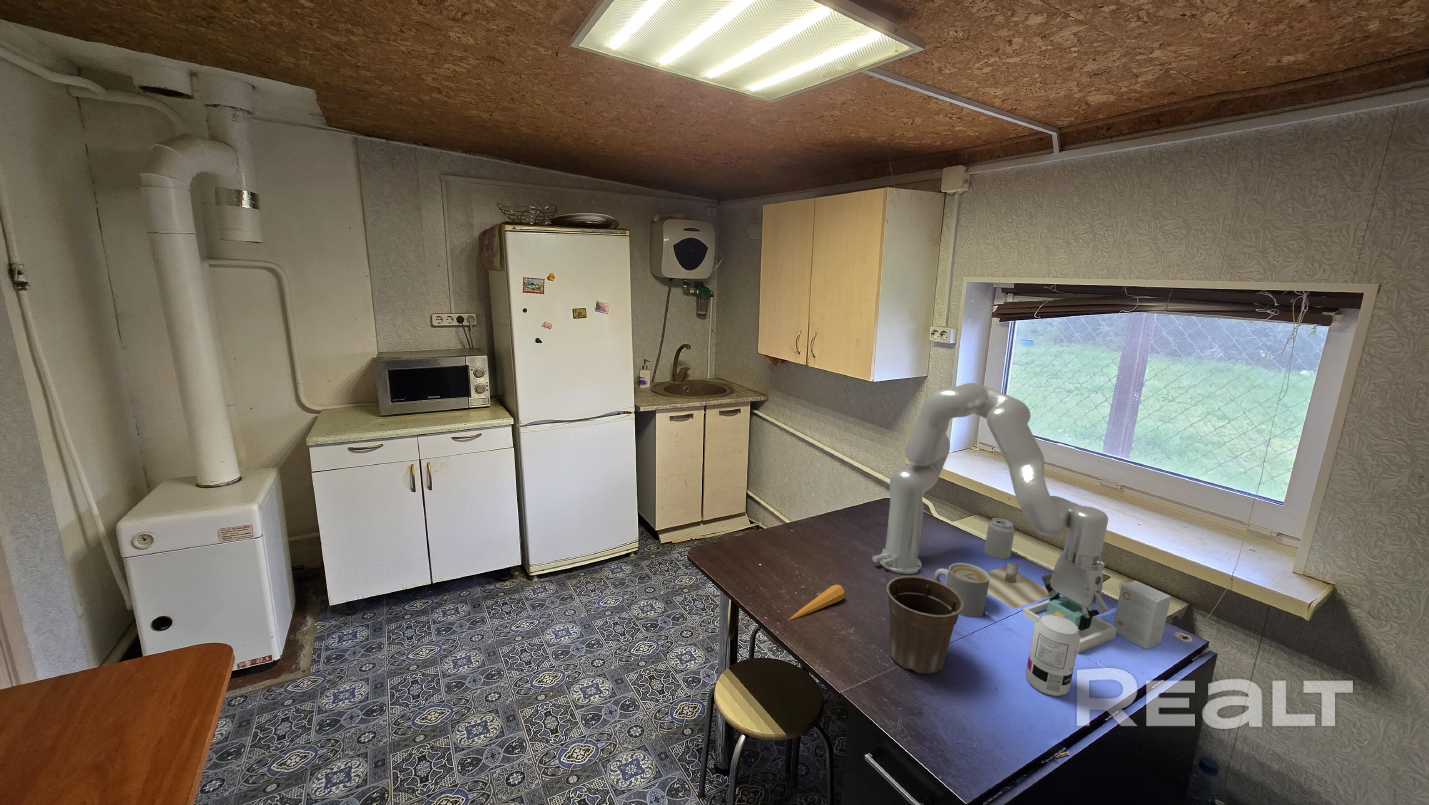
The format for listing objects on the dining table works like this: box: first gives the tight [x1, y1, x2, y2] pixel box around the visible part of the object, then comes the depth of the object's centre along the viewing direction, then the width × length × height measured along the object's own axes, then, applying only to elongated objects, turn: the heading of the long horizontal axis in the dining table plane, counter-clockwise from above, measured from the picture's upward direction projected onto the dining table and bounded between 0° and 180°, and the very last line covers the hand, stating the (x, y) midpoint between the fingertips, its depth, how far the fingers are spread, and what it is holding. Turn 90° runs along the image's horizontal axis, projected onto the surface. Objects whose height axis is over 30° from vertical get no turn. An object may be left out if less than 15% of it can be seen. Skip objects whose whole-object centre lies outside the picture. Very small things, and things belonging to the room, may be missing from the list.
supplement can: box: [1025, 613, 1080, 697], centre depth 117 cm, size 8×8×15 cm
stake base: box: [986, 561, 1050, 610], centre depth 155 cm, size 18×16×6 cm
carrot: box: [787, 583, 846, 622], centre depth 143 cm, size 20×4×4 cm, turn 125°
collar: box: [1045, 596, 1084, 630], centre depth 138 cm, size 7×8×4 cm
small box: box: [1112, 580, 1172, 650], centre depth 135 cm, size 8×6×13 cm
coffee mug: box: [933, 562, 990, 618], centre depth 147 cm, size 13×10×10 cm
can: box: [983, 517, 1016, 560], centre depth 173 cm, size 8×8×12 cm
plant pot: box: [886, 575, 963, 675], centre depth 125 cm, size 16×16×16 cm
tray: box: [1021, 599, 1117, 655], centre depth 138 cm, size 15×15×3 cm
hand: (1068, 619), depth 138 cm, fingers closed on collar, 7 cm apart
